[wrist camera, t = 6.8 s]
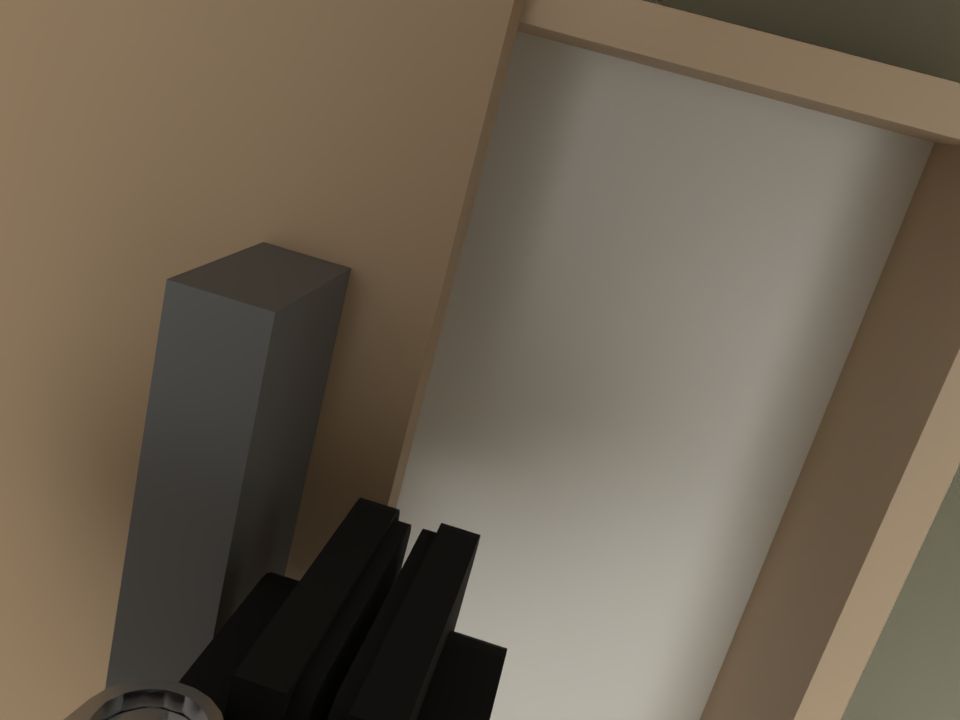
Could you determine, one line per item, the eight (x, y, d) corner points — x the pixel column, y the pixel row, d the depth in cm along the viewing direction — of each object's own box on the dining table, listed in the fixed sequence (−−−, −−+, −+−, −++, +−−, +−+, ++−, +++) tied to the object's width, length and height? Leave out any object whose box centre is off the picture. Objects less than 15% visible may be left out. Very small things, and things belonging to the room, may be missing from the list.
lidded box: (974, 115, 15) (1118, 124, 11) (673, 836, 20) (680, 1061, 16) (-96, -168, 17) (-379, -267, 12) (-131, 557, 22) (-342, 683, 17)
